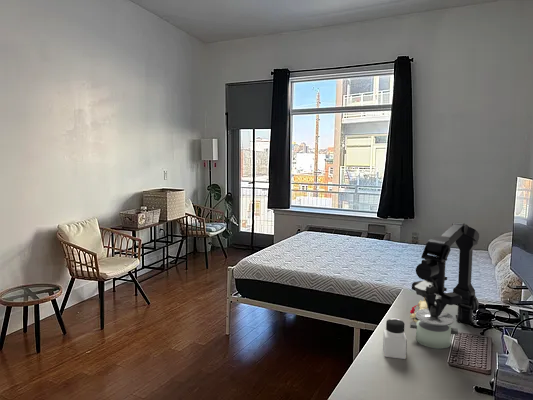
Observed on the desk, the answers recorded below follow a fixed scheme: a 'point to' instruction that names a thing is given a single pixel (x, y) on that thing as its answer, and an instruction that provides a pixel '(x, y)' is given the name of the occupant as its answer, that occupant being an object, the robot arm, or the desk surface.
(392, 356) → the medicine bottle
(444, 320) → the lid
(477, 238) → the robot arm
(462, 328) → the desk surface
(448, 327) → the pot
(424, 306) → the cat figure
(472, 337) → the desk surface
